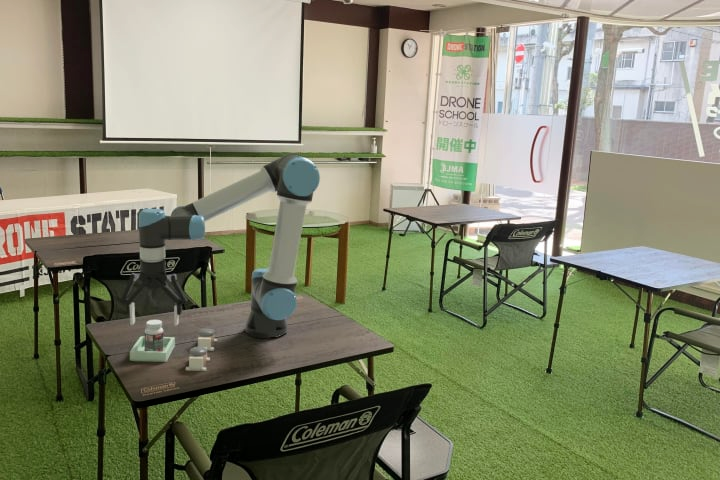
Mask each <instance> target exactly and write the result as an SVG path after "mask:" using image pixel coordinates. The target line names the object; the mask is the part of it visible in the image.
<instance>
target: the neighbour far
mask: <svg viewBox="0 0 720 480" xmlns="http://www.w3.org/2000/svg"><path fill="white" fill-rule="evenodd" d="M215 332H216V331H215V329H213V328H200V329H199V330H198V338H199V337H211V347H214V346H215V342H214V339H215Z"/></svg>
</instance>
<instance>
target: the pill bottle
mask: <svg viewBox="0 0 720 480" xmlns="http://www.w3.org/2000/svg"><path fill="white" fill-rule="evenodd" d="M145 326H146V328H145V329H144V336H145V351H163V337H164V329H163V327H162V326H163V321H162V320H160V319H150V320H147V321H146V324H145Z"/></svg>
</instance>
